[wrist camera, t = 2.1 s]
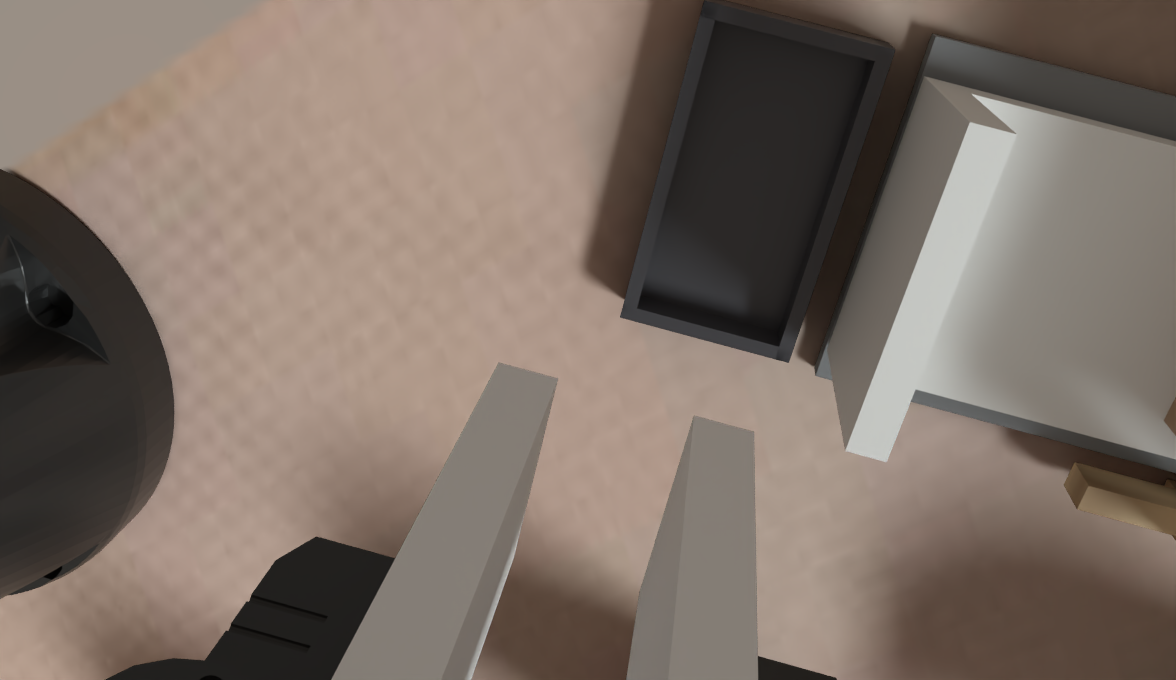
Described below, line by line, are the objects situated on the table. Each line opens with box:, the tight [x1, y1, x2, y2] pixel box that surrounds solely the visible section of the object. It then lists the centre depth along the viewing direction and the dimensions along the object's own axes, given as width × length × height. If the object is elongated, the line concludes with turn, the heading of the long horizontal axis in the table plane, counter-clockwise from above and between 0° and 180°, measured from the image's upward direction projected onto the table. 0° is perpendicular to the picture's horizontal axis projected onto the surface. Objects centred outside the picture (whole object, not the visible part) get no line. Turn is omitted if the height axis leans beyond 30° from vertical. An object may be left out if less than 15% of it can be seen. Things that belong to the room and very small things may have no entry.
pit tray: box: [620, 0, 895, 363], centre depth 30 cm, size 5×9×1 cm, turn 167°
